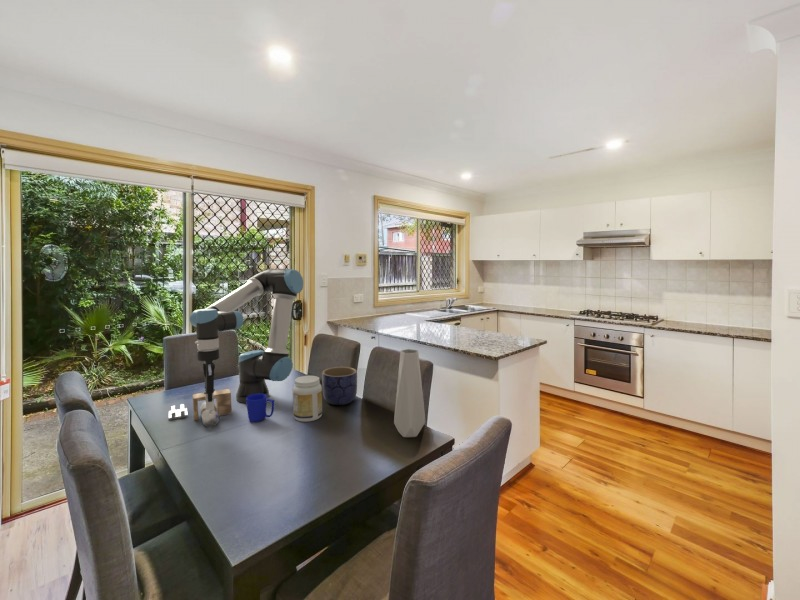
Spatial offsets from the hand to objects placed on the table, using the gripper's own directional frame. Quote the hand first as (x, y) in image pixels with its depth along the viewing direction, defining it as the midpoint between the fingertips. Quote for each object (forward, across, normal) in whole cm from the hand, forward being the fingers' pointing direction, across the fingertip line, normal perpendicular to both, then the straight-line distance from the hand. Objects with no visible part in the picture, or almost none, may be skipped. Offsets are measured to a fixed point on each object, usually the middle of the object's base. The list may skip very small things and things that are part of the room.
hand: (209, 408), depth 146 cm
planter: (+9, -5, +56) cm, 57 cm away
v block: (+10, -26, -11) cm, 30 cm away
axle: (+7, -14, +1) cm, 15 cm away
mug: (+10, -2, +20) cm, 22 cm away
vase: (+9, +41, +66) cm, 78 cm away
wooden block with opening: (+9, -19, +2) cm, 22 cm away
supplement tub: (+9, +5, +38) cm, 39 cm away
